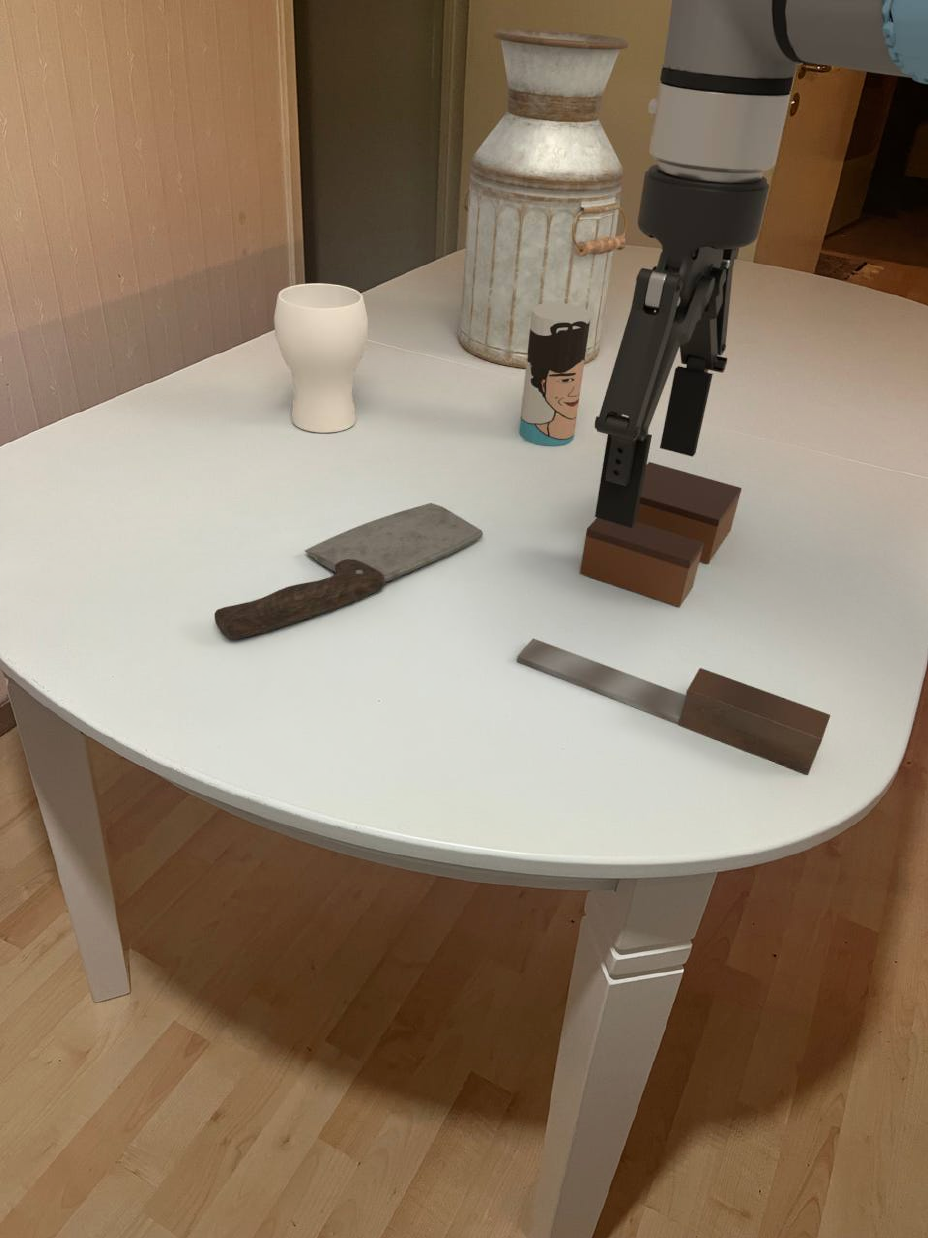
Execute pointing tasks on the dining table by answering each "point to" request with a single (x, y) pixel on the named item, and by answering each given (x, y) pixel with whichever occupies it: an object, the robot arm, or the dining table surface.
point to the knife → (701, 706)
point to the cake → (688, 506)
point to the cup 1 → (321, 351)
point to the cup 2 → (554, 373)
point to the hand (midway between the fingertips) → (648, 483)
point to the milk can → (542, 195)
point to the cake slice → (641, 559)
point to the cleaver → (355, 567)
